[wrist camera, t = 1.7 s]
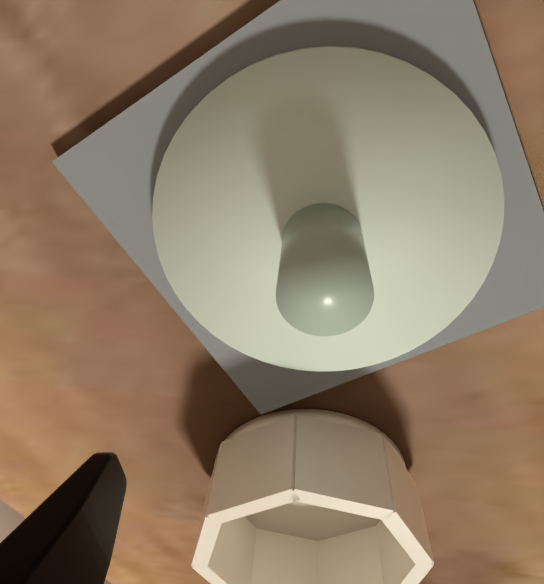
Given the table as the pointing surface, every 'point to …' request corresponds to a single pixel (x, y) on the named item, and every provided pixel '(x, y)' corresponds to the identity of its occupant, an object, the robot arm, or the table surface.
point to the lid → (328, 209)
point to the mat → (302, 34)
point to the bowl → (311, 505)
